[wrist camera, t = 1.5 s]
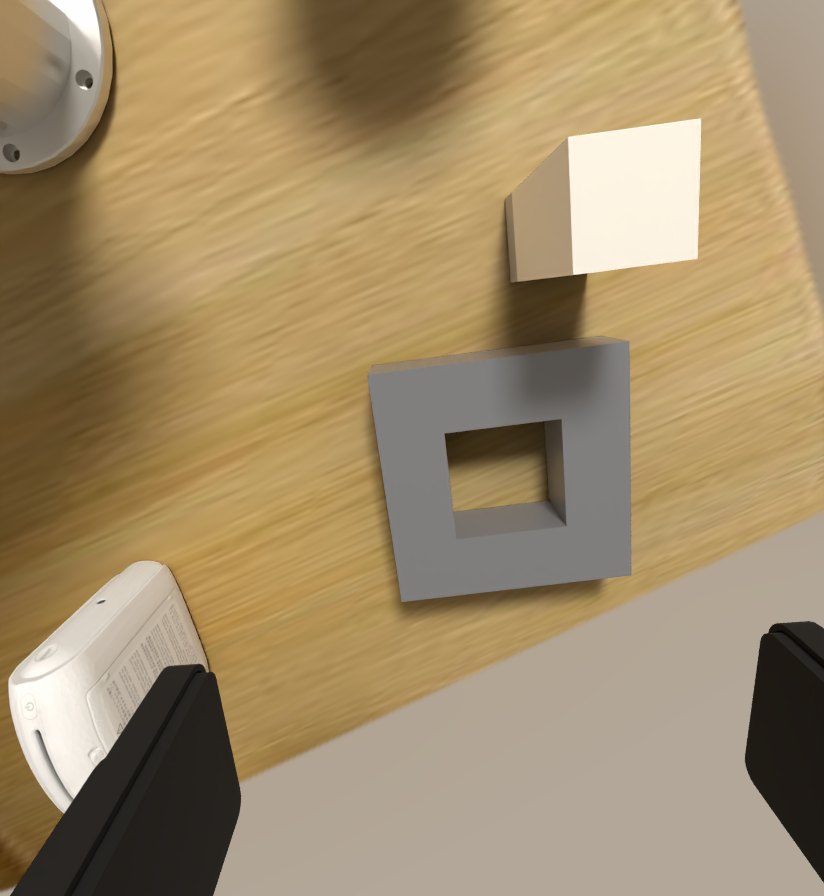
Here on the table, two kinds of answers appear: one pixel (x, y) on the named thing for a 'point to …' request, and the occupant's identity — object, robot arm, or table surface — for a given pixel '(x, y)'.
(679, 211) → the plug
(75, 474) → the table surface
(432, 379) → the socket box
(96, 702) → the photo printer
